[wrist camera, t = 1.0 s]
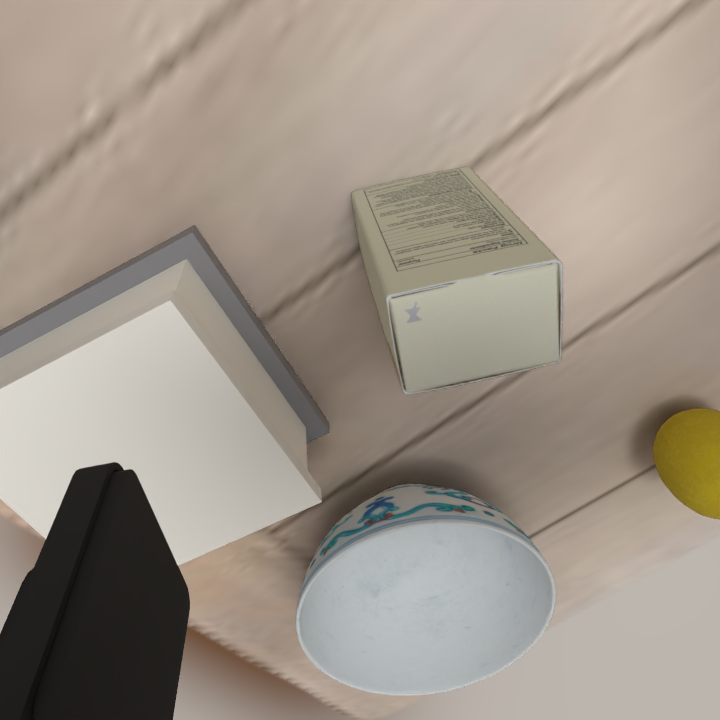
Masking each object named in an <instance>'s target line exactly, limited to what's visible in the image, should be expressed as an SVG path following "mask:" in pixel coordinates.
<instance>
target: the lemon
mask: <svg viewBox="0 0 720 720" xmlns="http://www.w3.org/2000/svg"><path fill="white" fill-rule="evenodd" d="M653 457H654V462H655V465H656V468H657V471H658V473H659V476H660V478H661V479H662V481H663V482H664V484H665V485H666V486H667V488H668V489H669V490H670V491H671V492H672V494H673V495H674V496H675V497H676V498H677V499H678V500H679V501H681V502H682V503H683V504H684V505H686V506H687V507H689V508H690V509H692V510H694V511H695V512H697V513H699V514H701V515H703V516H706V517H710V518H714V519H720V411H717V410H711V409H705V408H696V409H689V410H685V411H681V412H679V413H677V414H675V415H673V416H672V417H670V418H669V419H668V420H667V421H666V422H665V423H664V424H663V425H662V426H661V428H660V429H659V431H658V432H657V435H656V438H655V441H654V445H653Z"/></svg>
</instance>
